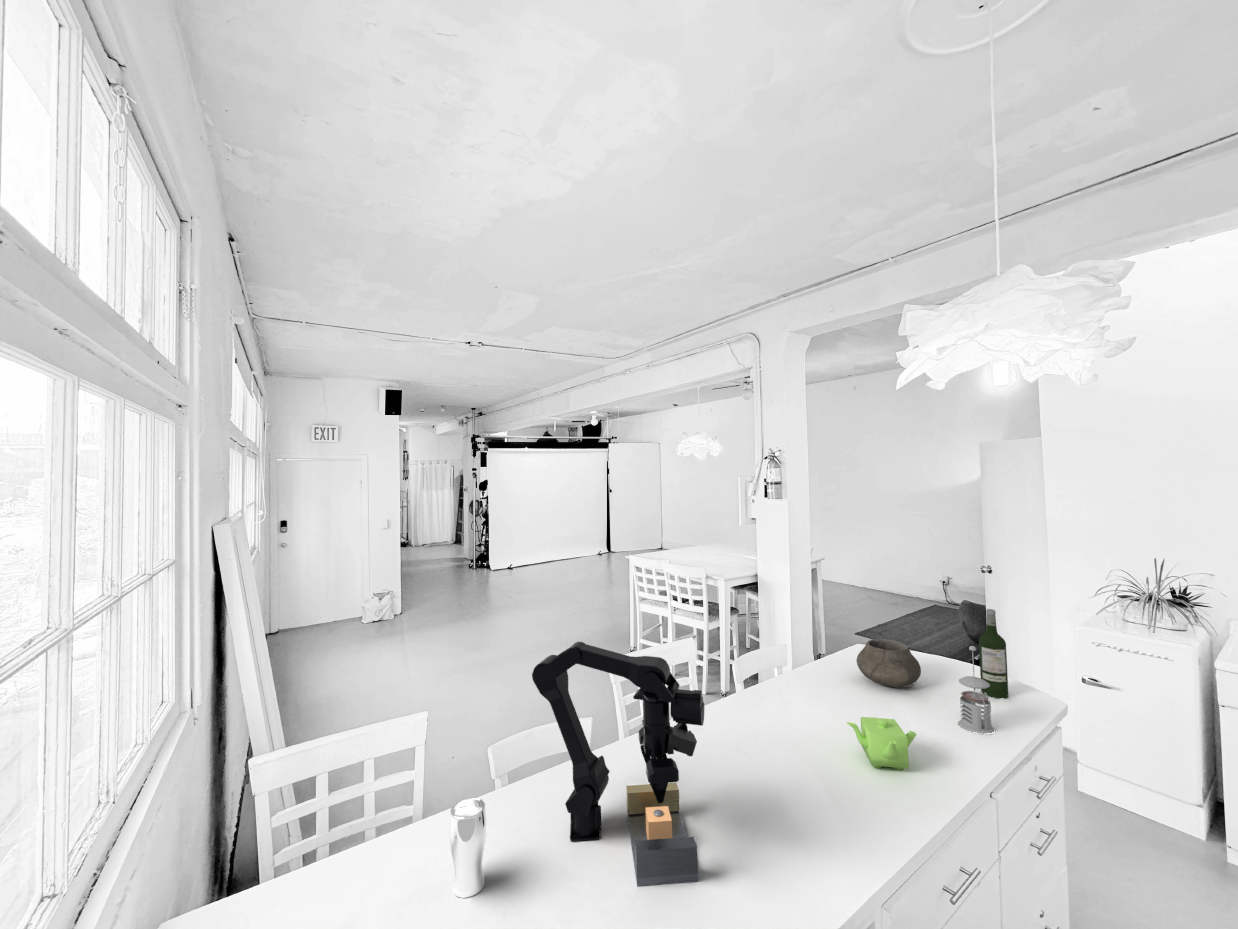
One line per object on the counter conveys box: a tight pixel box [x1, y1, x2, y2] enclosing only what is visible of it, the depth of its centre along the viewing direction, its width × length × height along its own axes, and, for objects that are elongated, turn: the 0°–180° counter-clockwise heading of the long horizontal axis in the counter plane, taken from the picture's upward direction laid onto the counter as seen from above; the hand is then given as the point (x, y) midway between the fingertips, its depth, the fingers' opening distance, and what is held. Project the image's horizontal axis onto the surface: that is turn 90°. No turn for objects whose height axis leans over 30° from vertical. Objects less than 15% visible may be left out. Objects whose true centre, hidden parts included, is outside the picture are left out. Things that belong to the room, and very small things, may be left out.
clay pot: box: [856, 638, 922, 688], centre depth 197 cm, size 22×21×15 cm
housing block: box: [646, 806, 672, 840], centre depth 112 cm, size 5×5×5 cm
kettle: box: [846, 716, 917, 771], centre depth 143 cm, size 15×14×11 cm
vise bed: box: [626, 810, 699, 887], centre depth 112 cm, size 12×22×7 cm, turn 4°
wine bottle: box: [978, 608, 1009, 699], centre depth 185 cm, size 8×8×30 cm
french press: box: [957, 645, 995, 735], centre depth 161 cm, size 10×12×25 cm
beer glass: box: [449, 797, 487, 899], centre depth 101 cm, size 7×7×15 cm
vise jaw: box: [626, 782, 680, 814], centre depth 121 cm, size 12×3×5 cm, turn 94°
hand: (658, 792), depth 112 cm, fingers open, 7 cm apart
